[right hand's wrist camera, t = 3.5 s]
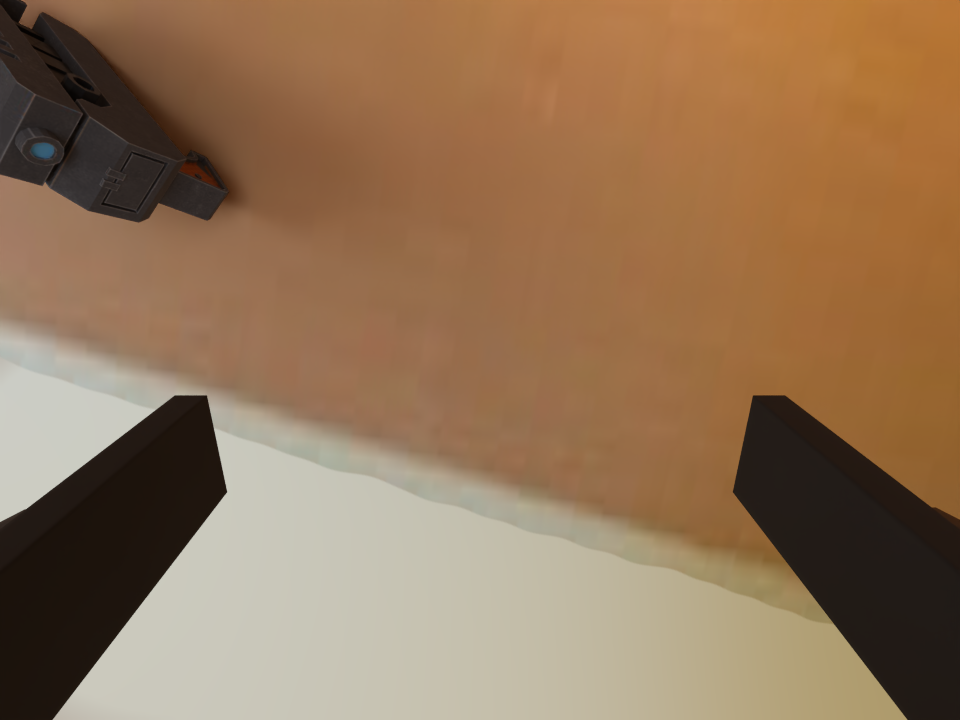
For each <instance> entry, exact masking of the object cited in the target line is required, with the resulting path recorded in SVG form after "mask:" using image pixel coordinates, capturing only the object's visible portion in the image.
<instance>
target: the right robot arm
mask: <svg viewBox="0 0 960 720" xmlns="http://www.w3.org/2000/svg"><path fill="white" fill-rule="evenodd" d="M226 493H227V489H226V484H225V480H224V475H223V470H222V465H221V461H220V456H219V451H218V446H217V441H216V437H215V432H214V427H213V422H212V418H211V413H210V408H209V403H208V399H207V396H174V397H172V398H171V399H170V400H168V401H167V402H166V403H165V404H163V405H162V406H161V407H159V408H158V409H157V410H155V411H154V412H153V413H151V414H150V415H149V416H148V417H146V418H145V419H144V420H142V421H141V422H140V423H138V424H137V425H136V426H134V427H133V428H132V429H131V430H129V431H128V432H127V433H125V434H124V435H123V436H121V437H120V438H119V439H117V440H116V441H115V442H114V443H112V444H111V445H110V446H108V447H107V448H106V449H104V450H103V451H102V452H100V453H99V454H98V455H97V456H95V457H94V458H93V459H91V460H90V461H89V462H87V463H86V464H85V465H83V466H82V467H81V468H80V469H78V470H77V471H76V472H74V473H73V474H72V475H70V476H69V477H68V478H66V479H65V480H64V481H63V482H61V483H60V484H59V485H57V486H56V487H55V488H53V489H52V490H51V491H49V492H48V493H47V494H46V495H44V496H43V497H42V498H40V499H39V500H38V501H36V502H35V503H34V504H32V505H31V506H30V507H28V508H27V509H25V510H23V511H21V512H19V513H17V514H15V515H13V516H11V517H9V518H7V519H5V520H3V521H2V522H0V720H53V718H54V717H55V716H56V714H57V713H58V712H59V711H60V709H61V708H62V707H63V705H64V704H65V703H66V701H67V700H68V699H69V697H70V696H71V695H72V694H73V692H74V691H75V690H76V688H77V687H78V686H79V684H80V683H81V682H82V680H83V679H84V678H85V677H86V675H87V674H88V673H89V671H90V670H91V669H92V668H93V666H94V665H95V664H96V662H97V661H98V660H99V658H100V657H101V656H102V654H103V653H104V652H105V650H106V649H107V648H108V647H109V645H110V644H111V643H112V641H113V640H114V639H115V638H116V636H117V635H118V634H119V632H120V631H121V630H122V628H123V627H124V626H125V625H126V623H127V622H128V621H129V619H130V618H131V617H132V615H133V614H134V613H135V611H136V610H137V609H138V608H139V606H140V605H141V604H142V602H143V601H144V600H145V598H146V597H147V596H148V594H149V593H150V592H151V591H152V589H153V588H154V587H155V585H156V584H157V583H158V581H159V580H160V579H161V578H162V576H163V575H164V574H165V572H166V571H167V570H168V568H169V567H170V566H171V565H172V563H173V562H174V561H175V559H176V558H177V557H178V555H179V554H180V553H181V552H182V550H183V549H184V548H185V546H186V545H187V544H188V542H189V541H190V540H191V538H192V537H193V536H194V535H195V533H196V532H197V531H198V529H199V528H200V527H201V525H202V524H203V523H204V522H205V520H206V519H207V518H208V516H209V515H210V514H211V512H212V511H213V510H214V508H215V507H216V506H217V505H218V503H219V502H220V501H221V499H222V498H223V497H224V495H225V494H226ZM733 493H734V494H735V495H736V497H737V498H738V499H739V501H740V502H741V503H742V505H743V506H744V507H745V508H746V510H747V511H748V512H749V514H750V515H751V516H752V518H753V519H754V520H755V522H756V523H757V524H758V525H759V527H760V528H761V529H762V531H763V532H764V533H765V535H766V536H767V537H768V538H769V540H770V541H771V542H772V544H773V545H774V546H775V548H776V549H777V550H778V552H779V553H780V554H781V555H782V557H783V558H784V559H785V561H786V562H787V563H788V565H789V566H790V567H791V568H792V570H793V571H794V572H795V574H796V575H797V576H798V578H799V579H800V580H801V581H802V583H803V584H804V585H805V587H806V588H807V589H808V591H809V592H810V593H811V595H812V596H813V597H814V598H815V600H816V601H817V602H818V604H819V605H820V606H821V608H822V609H823V610H824V611H825V613H826V614H827V615H828V617H829V618H830V619H831V621H832V622H833V623H834V625H835V626H836V627H837V628H838V630H839V631H840V632H841V634H842V635H843V636H844V638H845V639H846V640H847V641H848V643H849V644H850V645H851V647H852V648H853V649H854V651H855V652H856V653H857V654H858V656H859V657H860V658H861V660H862V661H863V662H864V664H865V665H866V666H867V668H868V669H869V670H870V671H871V673H872V674H873V675H874V677H875V678H876V679H877V681H878V682H879V683H880V684H881V686H882V687H883V688H884V690H885V691H886V692H887V694H888V695H889V696H890V697H891V699H892V700H893V701H894V703H895V704H896V705H897V707H898V708H899V709H900V710H901V712H902V713H903V714H904V716H905V717H906V718H907V720H960V520H959V519H957V518H955V517H953V516H951V515H949V514H947V513H945V512H943V511H941V510H940V509H938V508H932V507H930V506H929V505H928V504H926V503H925V502H924V501H922V500H921V499H920V498H918V497H917V496H916V495H915V494H913V493H912V492H911V491H909V490H908V489H907V488H905V487H904V486H903V485H901V484H900V483H899V482H898V481H896V480H895V479H894V478H892V477H891V476H890V475H888V474H887V473H886V472H884V471H883V470H882V469H881V468H879V467H878V466H877V465H875V464H874V463H873V462H871V461H870V460H869V459H867V458H866V457H865V456H863V455H862V454H861V453H860V452H858V451H857V450H856V449H854V448H853V447H852V446H850V445H849V444H848V443H846V442H845V441H844V440H843V439H841V438H840V437H839V436H837V435H836V434H835V433H833V432H832V431H831V430H829V429H828V428H827V427H826V426H824V425H823V424H822V423H820V422H819V421H818V420H816V419H815V418H814V417H812V416H811V415H810V414H809V413H807V412H806V411H805V410H803V409H802V408H801V407H799V406H798V405H797V404H795V403H794V402H793V401H792V400H790V399H789V398H788V397H786V396H753V399H752V403H751V408H750V413H749V418H748V422H747V427H746V432H745V437H744V441H743V446H742V451H741V456H740V461H739V465H738V470H737V475H736V480H735V484H734V489H733Z"/></svg>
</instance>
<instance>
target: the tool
mask: <svg viewBox="0 0 960 720" xmlns="http://www.w3.org/2000/svg"><path fill="white" fill-rule="evenodd" d="M26 6H27V5H26V3H25V2H23V1H21V0H0V174H1V175H4V176H8V177H12V178H15V179H19V180H23V181H26V182H30V183H34V184H38V185H41V186H43V184H44V183H45V182H46V184H47V185H48V186H49V188H50V189H52V190H54V191H56V192H57V193H59V194H61V195H62V196H64V197H66V198H67V199H69V200H71V201H72V202H74V203H76V204H78V205H79V206H81V207H83V208H84V209H86V210H88V211H91V212H96V213H100V214H104V215H109V216H113V217H117V218H122V219H126V220H130V221H135V222H141V221H144V220H146V219H148V218H149V217H150V215H151V214H152V212H153V211H154V209H155V208H156V206H157V205H158V203H160V204H163V205H166V206H168V207H171V208H174V209H177V210H179V211H182V212H185V213H187V214H190V215H193V216H196V217H198V218H201V219H204V220H209V219H211V217H212V216H213V214H214V213H215V211H216V210H217V209H218V207H219V206H220V204H221V203H222V201H223V200H224V198H225V197H226V195H227V194H228V192H229V190H228V189H227V187H226V186H225V184H224V183H223V181H222V180H221V178H220V177H219V175H218V174H217V172H216V171H215V169H214V168H213V166H212V165H211V163H210V162H209V160H208V159H207V158H206V157H205V156H203V155H201V154H199V153H197V152H194V151H192V150H191V151H190V152H189V154H188V155H187V156H184V155H183V154H182V153H181V152H180V151H179V149H178V148H177V147H176V146H175V145H174V143H173V142H172V141H171V140H170V139H169V137H168V136H167V135H166V134H165V133H164V131H163V130H162V129H161V128H160V127H159V125H158V124H157V123H156V122H155V121H154V119H153V118H152V117H151V116H150V115H149V113H148V112H147V111H146V110H145V109H144V107H143V106H142V105H141V104H140V102H139V101H138V100H137V99H136V98H135V96H134V95H133V94H132V93H131V92H130V90H129V89H128V88H127V87H126V86H125V84H124V83H123V82H122V81H121V80H120V78H119V77H118V76H117V75H116V74H115V72H114V71H113V70H112V69H111V68H110V66H109V65H108V64H107V63H106V62H105V60H104V59H103V58H102V57H101V56H100V54H99V53H98V52H97V51H96V50H95V48H94V47H93V46H92V45H91V44H90V42H89V41H88V40H87V39H86V38H84V37H83V36H82V35H80V34H79V33H78V32H76V31H75V30H74V29H72V28H70V27H69V26H67V25H65V24H63V23H61V22H60V21H58V20H56V19H54V18H52V17H51V16H49V15H47V14H45V13H43V12H42V13H40V15H39V17H38V19H37V21H36V22H35V24H34V26H33V28H32V30H31V29H29V28H27V27H25V26H23V25H21V24H20V23H19V21H20V19H21V17H22V15H23V13H24V11H25V8H26Z"/></svg>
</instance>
